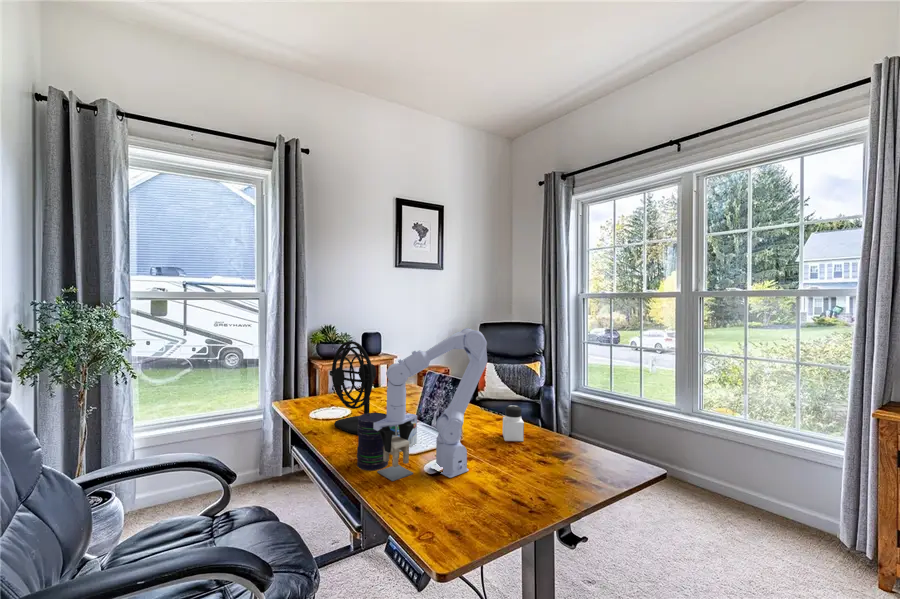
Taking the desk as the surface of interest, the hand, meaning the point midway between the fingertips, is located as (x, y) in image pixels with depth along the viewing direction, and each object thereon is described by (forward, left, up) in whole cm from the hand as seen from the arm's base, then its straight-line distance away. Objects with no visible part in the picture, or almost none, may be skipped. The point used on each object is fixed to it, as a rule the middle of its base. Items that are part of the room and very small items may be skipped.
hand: (395, 449), depth 123 cm
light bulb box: (+17, -14, -8) cm, 23 cm away
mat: (0, 0, -7) cm, 7 cm away
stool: (0, 0, -4) cm, 4 cm away
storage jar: (+10, +1, -7) cm, 13 cm away
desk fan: (+46, -13, -7) cm, 48 cm away
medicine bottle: (-3, -52, -7) cm, 53 cm away
